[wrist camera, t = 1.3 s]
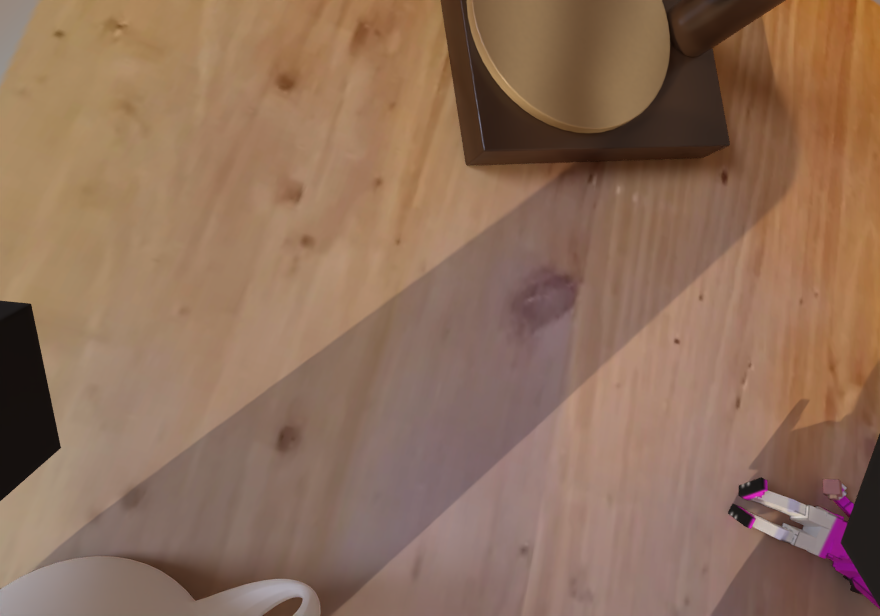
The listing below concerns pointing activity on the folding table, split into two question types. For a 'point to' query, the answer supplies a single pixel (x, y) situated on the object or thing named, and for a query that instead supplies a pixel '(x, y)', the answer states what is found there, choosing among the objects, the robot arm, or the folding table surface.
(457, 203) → the folding table surface
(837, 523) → the character figurine
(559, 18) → the mug stand
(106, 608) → the mug
